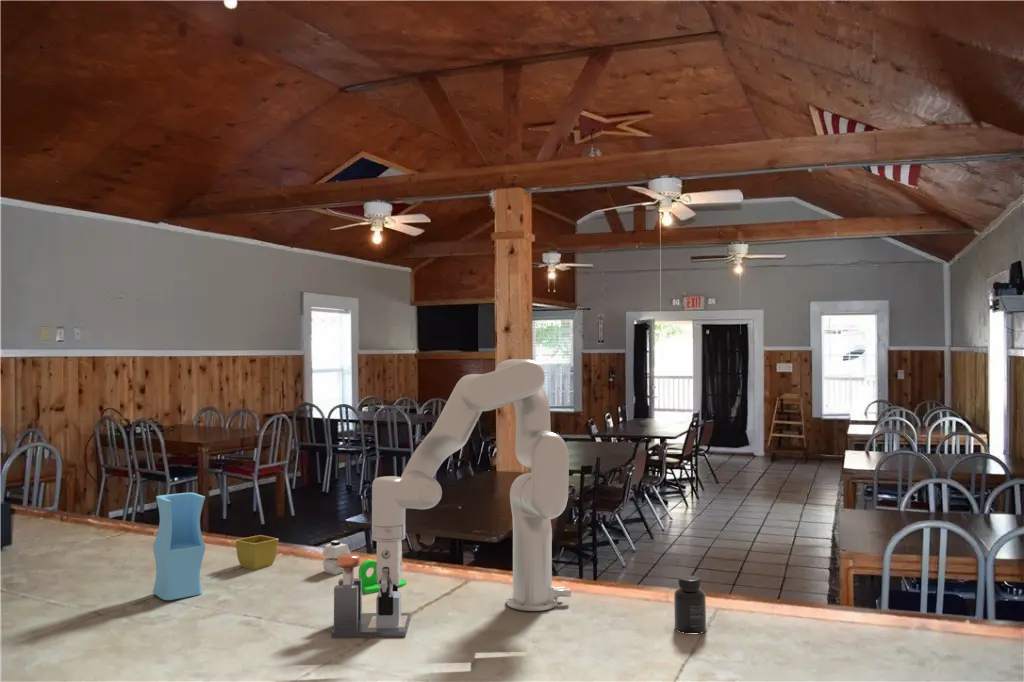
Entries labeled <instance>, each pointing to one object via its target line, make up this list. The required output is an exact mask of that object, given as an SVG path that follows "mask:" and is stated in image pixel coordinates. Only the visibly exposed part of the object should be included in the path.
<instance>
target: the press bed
mask: <svg viewBox="0 0 1024 682" xmlns="http://www.w3.org/2000/svg"><path fill="white" fill-rule="evenodd" d="M362 612H363V591H362V578H359V577H358V578H355V577H354V585H343V578H339V580H338V585H334V588H333V629H332V631H331V639H348V638H349V639H350V638H351V639H355V638H357V639H358V638H359V639H360V638H361V639H362V638H406V636H407V633H408V629H409V625H410V622H411V617H412V615H411V614H412V613H411V612H401V619H400V622H399V625H376V612H363V613H362Z"/></svg>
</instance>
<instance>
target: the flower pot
mask: <svg viewBox="0 0 1024 682" xmlns="http://www.w3.org/2000/svg"><path fill="white" fill-rule="evenodd" d="M278 544H279V538H276V537H272V536H267V535H262V534H259V535H254V536H249V537H244V538H243V537H242V538H238V539H235V546H236V547H235V548H236V556H237V559H238V563H239V564H240V566H241V568H244V569H248V570H250V571H251V570H252V571H256V570H260V569H263V568H266V567H269V566H273V564H274V562H275V559H276V557H277V551H278Z"/></svg>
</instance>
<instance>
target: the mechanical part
mask: <svg viewBox="0 0 1024 682" xmlns="http://www.w3.org/2000/svg"><path fill="white" fill-rule="evenodd" d="M358 567H359V568H358V578H362V593H365V595H369V594H373V593H379V589H380V586H379V585H378V584H377V561H375V560H373V559H366V560H365V561H363V562H362V563H360V565H359V566H358ZM371 568H373V572H372V574H371V575H369V576H367V572H368V570H369V569H371ZM406 585H407V580H405V578H403V577H402V578H401V581H400V584H399V585H398V588H401V587H405V586H406Z"/></svg>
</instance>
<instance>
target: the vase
mask: <svg viewBox="0 0 1024 682" xmlns="http://www.w3.org/2000/svg"><path fill="white" fill-rule="evenodd" d="M155 498H156V503H157V506H158V512H159V523H158V524H159V525H158V529H157V534H156V537H155V539H154V541H153V543H152V550H153V555H154V561H155V570H156V571H155V572H156V573H155V581H154V585H153V589H152V594H154V595H156V596H157V597H158V598H160V599H161V600H164V601H173V600H177V599H178V600H179V599H184V598H189V597H194V596H200V595H201V594H203V590H202V585H201V584H202V583H201V568H202V563H203V559H204V554H205V551H206V544H205V541H204V537H203V534H202V531H201V514H202V511H203V506H204V502H205V499H206V496H204V495H201V494H198V493H196V492H182V493H171V494H161V495H156V496H155Z"/></svg>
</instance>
